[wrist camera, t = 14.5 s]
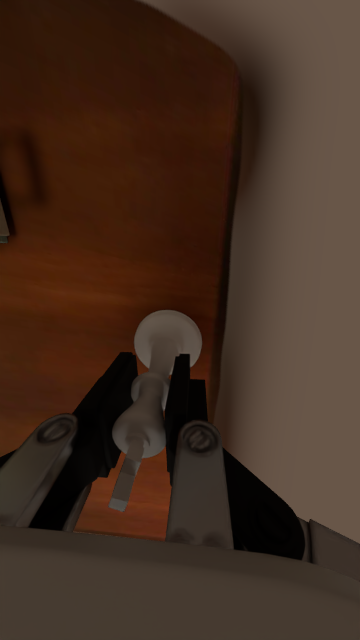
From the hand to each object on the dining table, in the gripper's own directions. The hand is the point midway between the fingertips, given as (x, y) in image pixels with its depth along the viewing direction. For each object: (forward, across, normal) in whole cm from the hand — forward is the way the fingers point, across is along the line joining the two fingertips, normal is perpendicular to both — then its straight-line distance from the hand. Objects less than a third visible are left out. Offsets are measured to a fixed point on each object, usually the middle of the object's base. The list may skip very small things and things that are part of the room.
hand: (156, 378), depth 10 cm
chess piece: (+5, 0, 0) cm, 5 cm away
